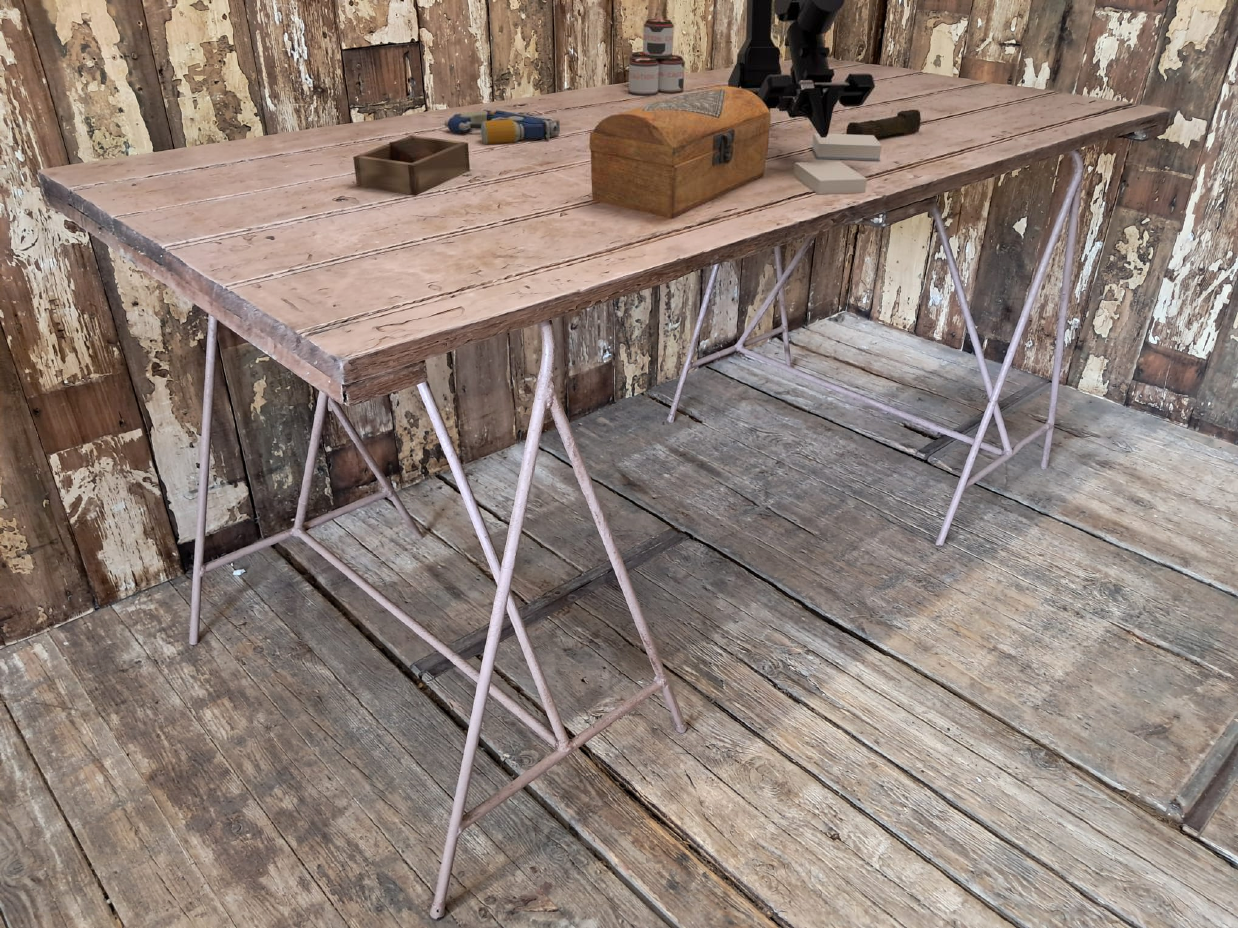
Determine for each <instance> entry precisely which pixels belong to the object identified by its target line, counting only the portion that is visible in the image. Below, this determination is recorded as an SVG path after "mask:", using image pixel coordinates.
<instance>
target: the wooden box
mask: <svg viewBox="0 0 1238 928" xmlns="http://www.w3.org/2000/svg"><path fill="white" fill-rule="evenodd" d="M771 119H772V116H771V110H770V111H769V110H768V108H767V106H766V105H765V104H764V102H763V101H762V100H761V99H760V98H759V97H758V96H757V95H755V94H754V93H752V92H750V91H748V90H745V89H741V87H740V88H736V87H729V86H728V85H727V86H726V85H725V86H724V85H721V86H715V87H709V88H706V89H701V90H699V91H695V92H690V93H684V94H681V95H677V96H674V97H670V98H664V99H661V100H659V101H654V102H652V103H648V104H646V105H643V106H640V107H637V108H634V109H629V110H628V111H624V112H622V113H621V112H620V113H617V114H613V115H612V114H611V115H609V116H607V117H606V118H603V119H602V120H600V121H599V123H598V124H597V125H596V126H595V127H594V129H593V130H592V131H590V132H589V150H590V165H591V167H590V169H591V170H590V171H591V172H590V178H591V194H592V196H591V197H592V201H594V202H598V203H601V204H605V205H610V206H613V207H614V206H615V207H617V208H623V209H628V210H632V211H636V212H641V213H644V214H649V215H654V216H658V217H663V218H666V219H671V220H672V219H676V218H678V217H679V216H681V215H683V214H684V215H685V214H686V213H688V212H690V211H692V210H694V209H696V208H698V207H700V206H703V205H705V204H707V203H710V202H711V201H713V200H715V199H717V198H720V197H722V196H724V195H726V194H728V193H730V192H731V191H735V190H737V189H739V188H742V187H744V186H746V185H748V184H750V183H753V182H755V181H757V180H759V179H761V178H763V177H764V174H765V168H766V163H767V157H768V150H769V142H770V129H771Z"/></svg>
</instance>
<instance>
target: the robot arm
mask: <svg viewBox="0 0 1238 928" xmlns="http://www.w3.org/2000/svg"><path fill="white" fill-rule="evenodd" d="M844 5H845V0H746V26H745V27H746V29H745V30H746V31H745V40H744V43H742V45H741V47H740V49H739V51H738V52H737V54H736V56H737V57H736V63H735V65H734V67H733V70H732V71H731V74H730V75H729V78H728V80H727V86H729V87H736V88H741V89H745V90H748V91H750V92H752V93H754V94H755V95H757V96H758V97H759V98H760V99H761V100H762V101H763V102H764V104H765V105H766V106H767V108H768V110H769V111H770V112H771V110H772V109H778V112H787V115H788V117H789V118H792V119H796V118H802V117H803V118H807V119H808V121H810V123H811V125H812V126H813V128H814V129H815V131H816V132H817V133H818V134H819V135H820V137H821V138H826V137H827V135H828V134H829V133H830V131H829V130H830V126H831V121H832V118H833V117H832V116H833V114H834V113H833V112H834V108H835V106H836V105H837V104H838V102H839V104H840V105H841V106H843V107H844V108H846V107H847V108H854V107H860V106H862V105H864V103H866V101H867V99H868V98H869V96H870V94H871V93H872V92H873V90H874V89H875V88H876V84H875V79H874V77H873V74H871V73H868V72H867V73H849V74H848V76H846V79H845V80H844V81H838V82H837V81H835V82H834V81H832V79H834V78H833V77H834V76H835V70H834V68H830V65H829V61H828V59H829V58H828V57H829V55H830V53H831V51H830V47H829V46H828V47H827V46H825V40H824V36H823V34H826V33H827V32H829V31H830V29H831V27H832V26H833V23H834V22H835V20H836V18H837V17H838V15H839V13H840V11H841V9H842V7H843V6H844ZM773 11H774V12H773ZM773 13H774V14H775V16H776V17H777V20H778V21H779V22H782V23H783V22H784V23H790V22H791V23H790V25H788V28H787V31H786V37H785V39H784V44H783V45H784V46H785V47H788V49H789V53H790V58H791V62H792V65H791V67H790V68H789V70H790V73H789V74H790V75H789V74H782V73H783V72H782V67H781V63H780V56H781V50H780V48H779V46H776V45H775V43H774V41H773V40H772V18H773V17H772V16H773Z"/></svg>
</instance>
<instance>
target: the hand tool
mask: <svg viewBox="0 0 1238 928" xmlns="http://www.w3.org/2000/svg"><path fill="white" fill-rule="evenodd" d="M920 127H921V112H920V111H919V110H918V109H909V110H901V111H899V112H897V115H896V116H893V117H887V118H881V119H876V120H872V119H871V120H870V119H869V120H868V121H867V120H866V121H860V122H857V121H856V122H854V121H853V122H849V123H848V124H847V127H846V131H845V134H848V135H874V136H875V138H876V139H877V138H883V137H889V136H893V135H898V136H902V137H905V136H909V135H912V134H915V133H917V132H919V131H920Z"/></svg>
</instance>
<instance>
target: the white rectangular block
mask: <svg viewBox="0 0 1238 928" xmlns="http://www.w3.org/2000/svg"><path fill="white" fill-rule="evenodd" d="M793 176H794V177H795V178H796V179H797V180H798V181H800V182H801V183H803V184H804V185H805V186H806V187H808V188H809V189H810V190H812V191H813V192H815V193H816V194H817V195H833V194H834V195H835V194H837V195H839V194H859V193H860V194H861V193H863V194H864V193H866V190H867V183H868V178H867V177H865V176H863V175H862V174H860V173H858V172H857V171H855V170H854V169H853V168H851V167H850V166H848V165H846V164H845V163H843V162H842V161H840V160H837V161H836V160H835V161H810V162H809V161H808V162H807V161H805V162H803V161H802V162H795V163H794V169H793Z"/></svg>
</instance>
